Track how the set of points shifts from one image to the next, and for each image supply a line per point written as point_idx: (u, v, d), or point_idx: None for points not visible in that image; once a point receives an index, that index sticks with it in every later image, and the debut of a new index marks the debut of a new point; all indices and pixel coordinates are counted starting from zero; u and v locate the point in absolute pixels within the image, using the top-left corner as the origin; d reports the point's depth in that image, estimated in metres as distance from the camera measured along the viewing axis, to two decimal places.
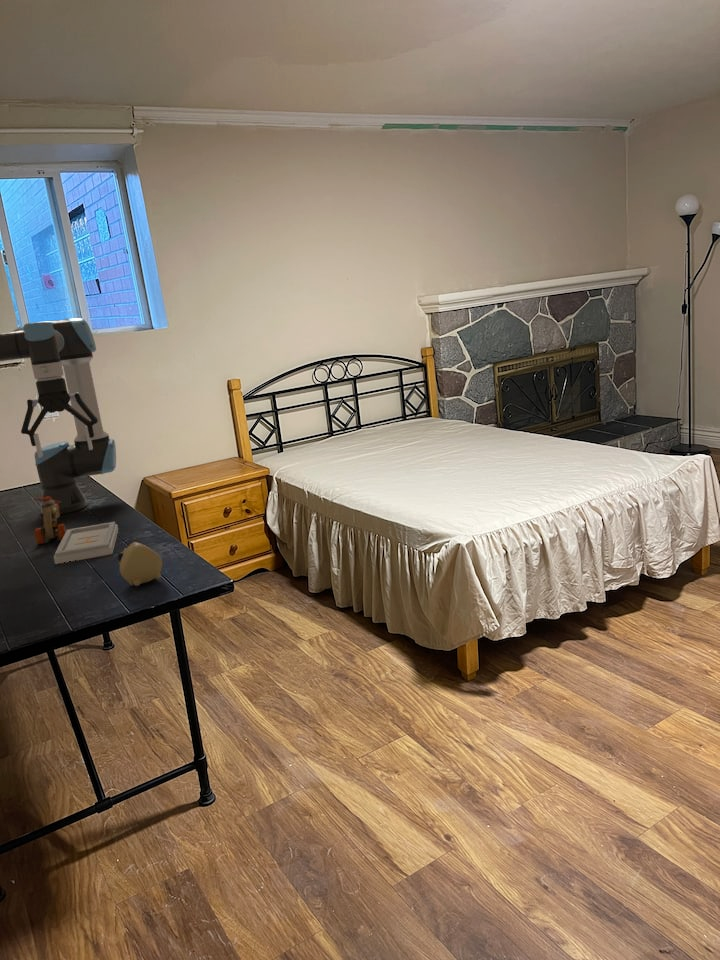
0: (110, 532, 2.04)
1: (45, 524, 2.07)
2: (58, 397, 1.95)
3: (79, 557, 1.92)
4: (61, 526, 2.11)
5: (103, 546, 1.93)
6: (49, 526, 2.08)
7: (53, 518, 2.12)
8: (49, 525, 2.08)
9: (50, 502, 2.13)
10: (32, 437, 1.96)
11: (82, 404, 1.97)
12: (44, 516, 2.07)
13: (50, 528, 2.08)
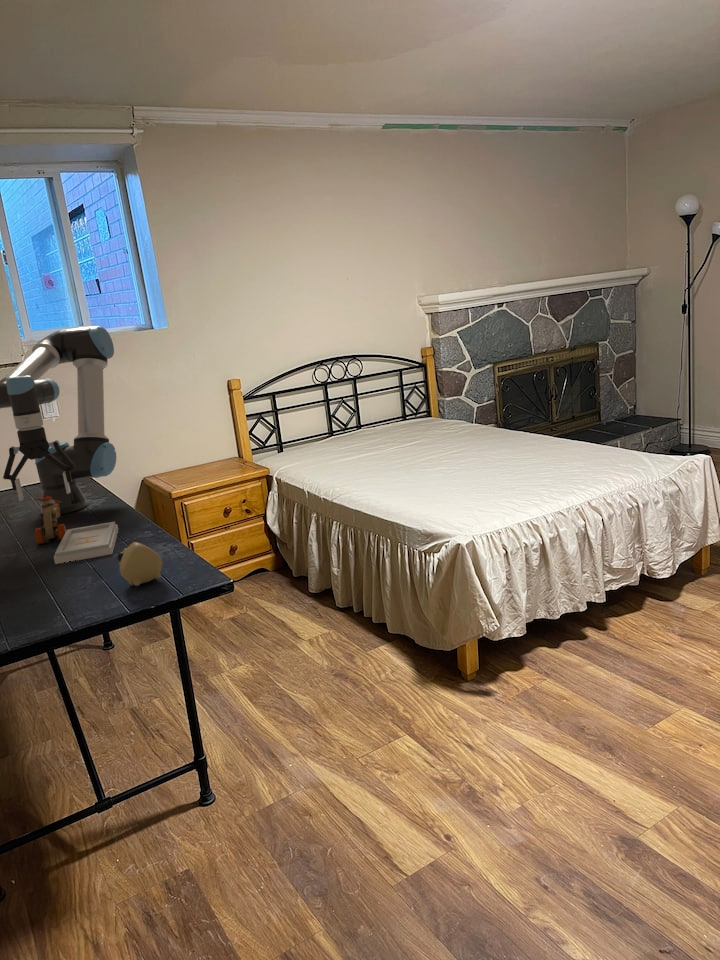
0: (110, 532, 2.04)
1: (45, 524, 2.07)
2: (38, 445, 2.10)
3: (79, 557, 1.92)
4: (61, 526, 2.11)
5: (103, 546, 1.93)
6: (49, 526, 2.08)
7: (53, 518, 2.12)
8: (49, 525, 2.08)
9: (50, 502, 2.13)
10: (13, 482, 2.10)
11: (60, 451, 2.12)
12: (44, 516, 2.07)
13: (50, 528, 2.08)
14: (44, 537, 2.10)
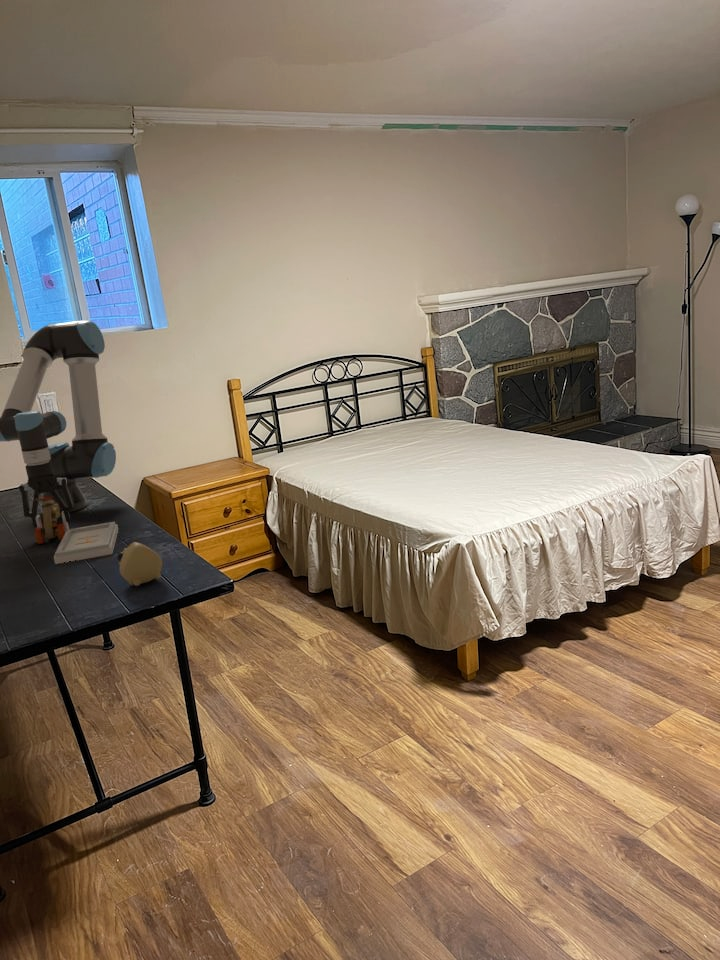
0: (110, 532, 2.04)
1: (45, 524, 2.07)
2: (46, 477, 2.12)
3: (79, 557, 1.92)
4: (61, 526, 2.11)
5: (103, 546, 1.93)
6: (49, 526, 2.08)
7: (53, 518, 2.12)
8: (49, 525, 2.08)
9: (50, 502, 2.13)
10: (34, 519, 2.14)
11: (65, 489, 2.14)
12: (44, 516, 2.07)
13: (50, 528, 2.08)
14: (44, 537, 2.10)
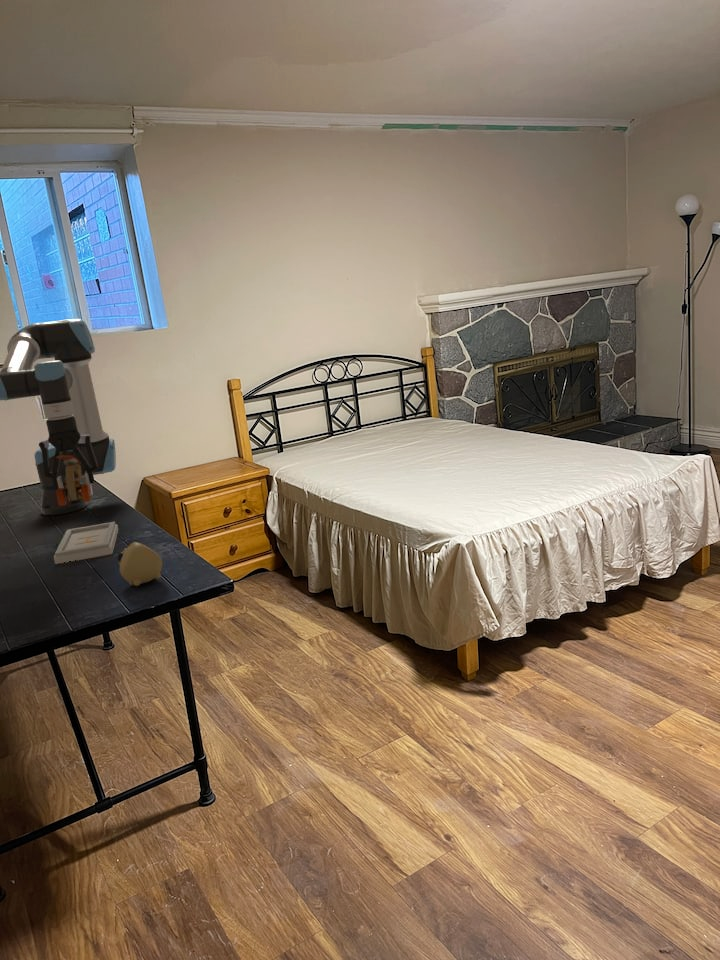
0: (110, 532, 2.04)
1: (68, 483, 1.89)
2: (69, 434, 1.94)
3: (79, 557, 1.92)
4: (85, 486, 1.93)
5: (103, 546, 1.93)
6: (72, 486, 1.90)
7: (76, 478, 1.94)
8: (72, 485, 1.90)
9: (73, 460, 1.95)
10: (55, 480, 1.96)
11: (89, 447, 1.96)
12: (67, 475, 1.89)
13: (73, 488, 1.90)
14: (66, 498, 1.92)
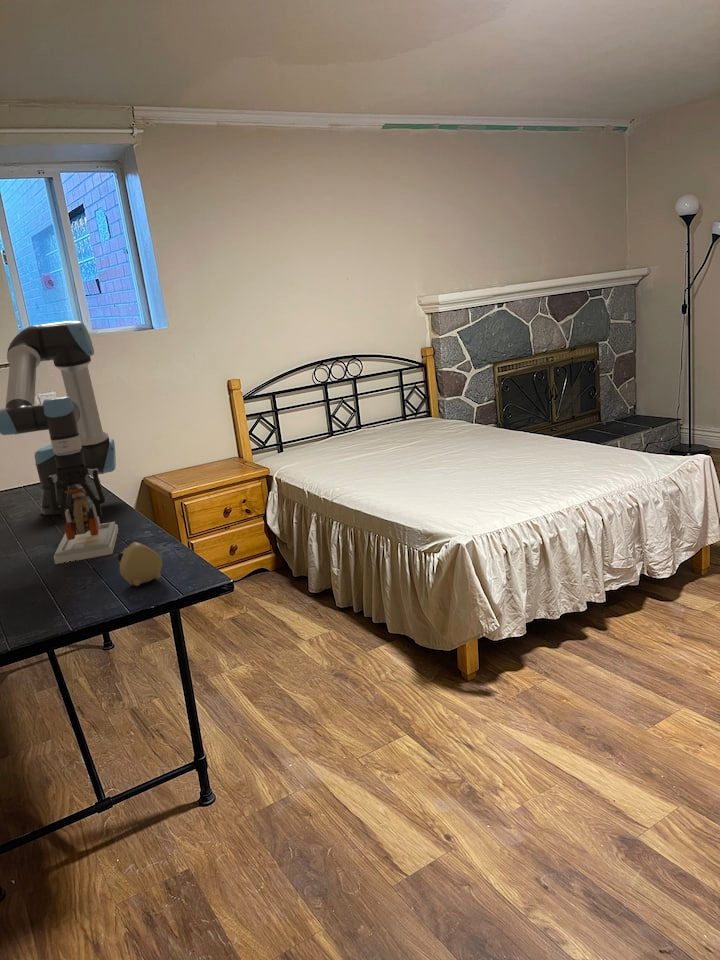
0: (110, 532, 2.04)
1: (76, 518, 1.92)
2: (77, 468, 1.97)
3: (79, 557, 1.92)
4: (93, 520, 1.95)
5: (103, 546, 1.93)
6: (80, 520, 1.92)
7: (84, 512, 1.96)
8: (80, 519, 1.92)
9: (81, 495, 1.97)
10: (63, 514, 1.99)
11: (97, 481, 1.99)
12: (75, 509, 1.92)
13: (81, 522, 1.92)
14: (74, 532, 1.94)
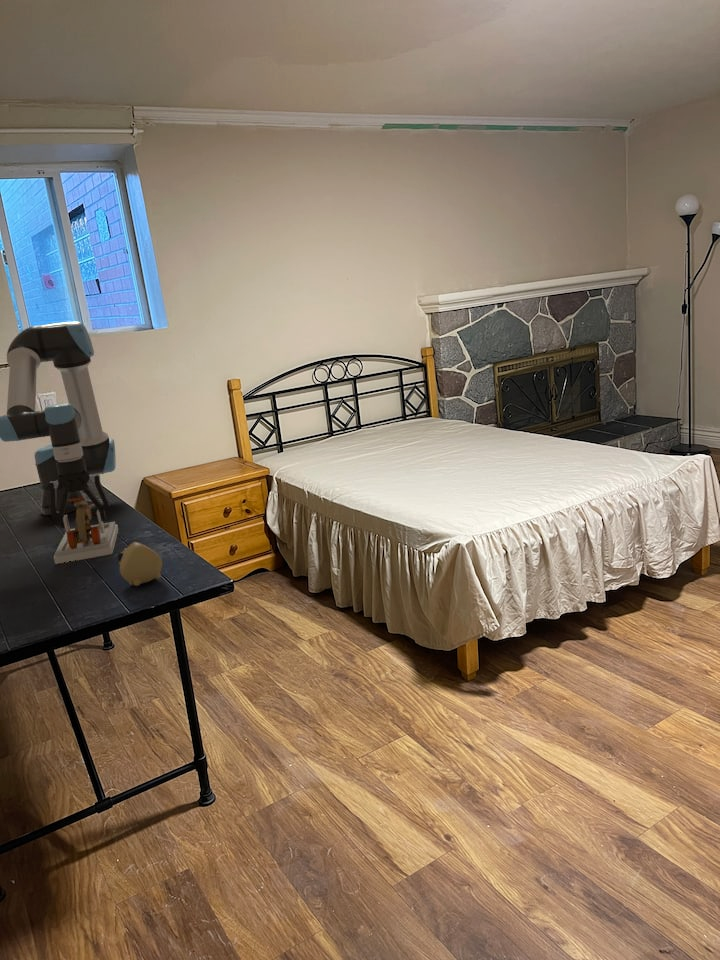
0: (110, 532, 2.04)
1: (78, 526, 1.92)
2: (78, 475, 1.97)
3: (79, 557, 1.92)
4: (95, 529, 1.96)
5: (103, 546, 1.93)
6: (82, 529, 1.93)
7: (86, 520, 1.97)
8: (82, 527, 1.93)
9: (83, 503, 1.98)
10: (61, 519, 1.99)
11: (99, 487, 1.99)
12: (77, 518, 1.93)
13: (83, 531, 1.93)
14: (77, 541, 1.95)
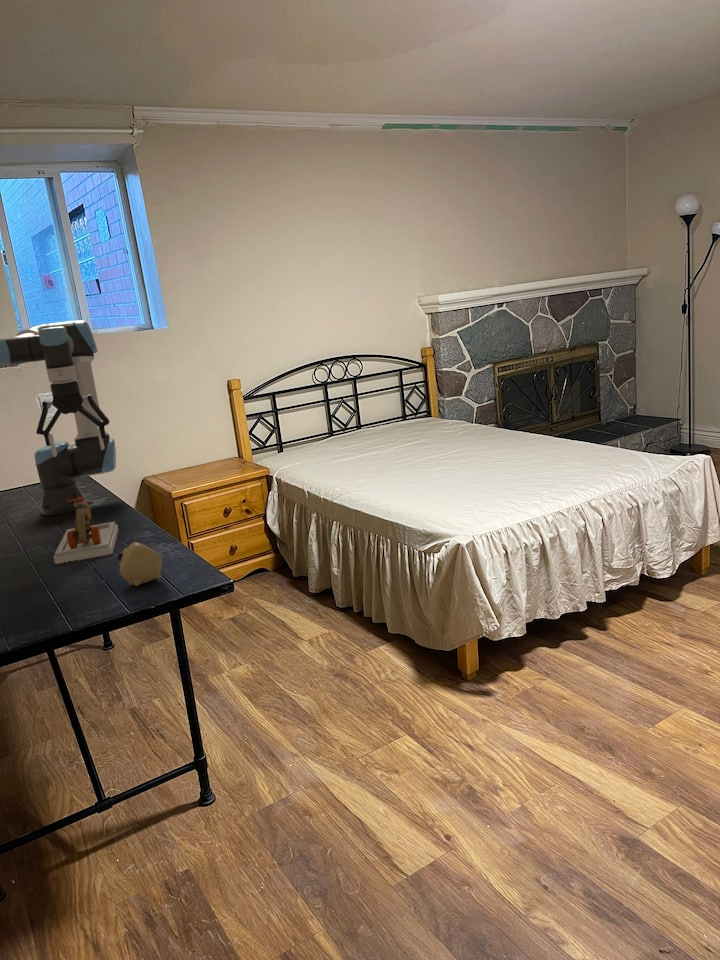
0: (110, 532, 2.04)
1: (78, 527, 1.92)
2: (71, 399, 2.03)
3: (79, 557, 1.92)
4: (95, 529, 1.96)
5: (103, 546, 1.93)
6: (82, 529, 1.93)
7: (86, 520, 1.97)
8: (82, 528, 1.93)
9: (83, 503, 1.98)
10: (47, 437, 2.05)
11: (94, 406, 2.05)
12: (77, 518, 1.93)
13: (83, 531, 1.93)
14: (77, 541, 1.95)
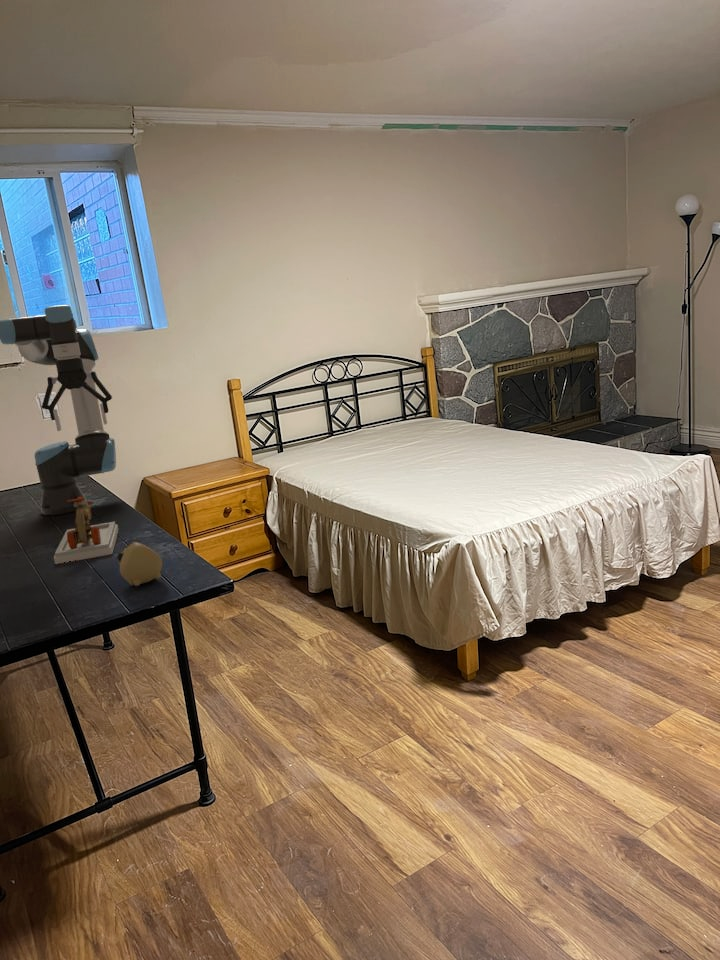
0: (110, 532, 2.04)
1: (78, 527, 1.92)
2: (76, 375, 2.12)
3: (79, 557, 1.92)
4: (95, 529, 1.96)
5: (103, 546, 1.93)
6: (82, 529, 1.93)
7: (86, 520, 1.97)
8: (82, 528, 1.93)
9: (83, 503, 1.98)
10: (52, 412, 2.13)
11: (97, 382, 2.14)
12: (77, 518, 1.93)
13: (83, 531, 1.93)
14: (77, 541, 1.95)
